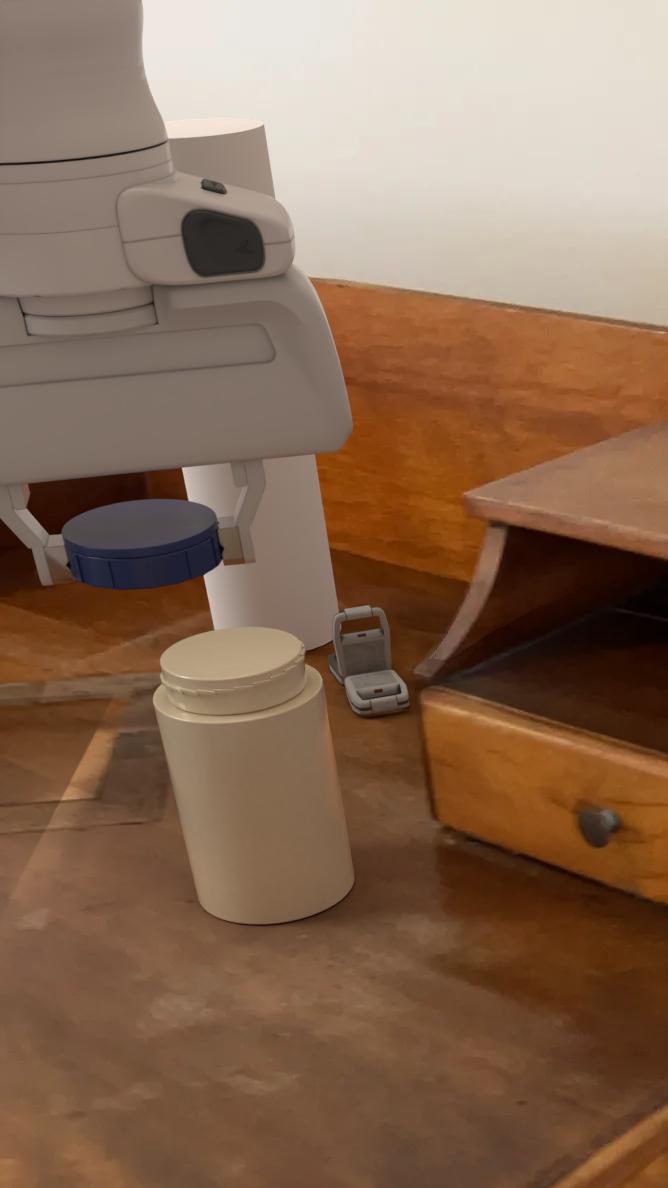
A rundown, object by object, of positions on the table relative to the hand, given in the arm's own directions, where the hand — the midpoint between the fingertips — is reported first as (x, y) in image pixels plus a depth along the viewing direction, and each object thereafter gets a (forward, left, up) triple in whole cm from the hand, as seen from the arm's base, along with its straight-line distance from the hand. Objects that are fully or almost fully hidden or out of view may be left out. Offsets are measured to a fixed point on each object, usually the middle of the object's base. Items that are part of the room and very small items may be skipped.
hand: (151, 570), depth 79 cm
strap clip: (+8, +9, -10) cm, 16 cm away
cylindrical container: (+2, +18, -10) cm, 21 cm away
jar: (+6, -13, -10) cm, 17 cm away
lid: (0, 0, +2) cm, 2 cm away
